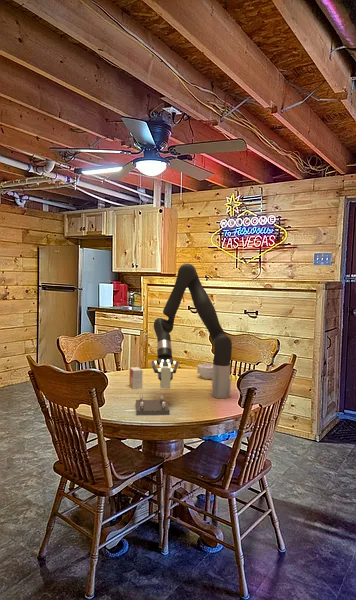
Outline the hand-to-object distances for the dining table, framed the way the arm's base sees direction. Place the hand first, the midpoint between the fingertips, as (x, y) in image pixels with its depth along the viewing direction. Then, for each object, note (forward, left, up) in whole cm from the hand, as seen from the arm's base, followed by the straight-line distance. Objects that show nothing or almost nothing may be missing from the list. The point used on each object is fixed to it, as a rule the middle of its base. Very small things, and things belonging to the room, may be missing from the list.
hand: (165, 379), depth 204 cm
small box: (+14, -37, -13) cm, 41 cm away
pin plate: (+7, +4, -13) cm, 15 cm away
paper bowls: (-33, -59, -13) cm, 69 cm away
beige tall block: (0, -1, -4) cm, 4 cm away
